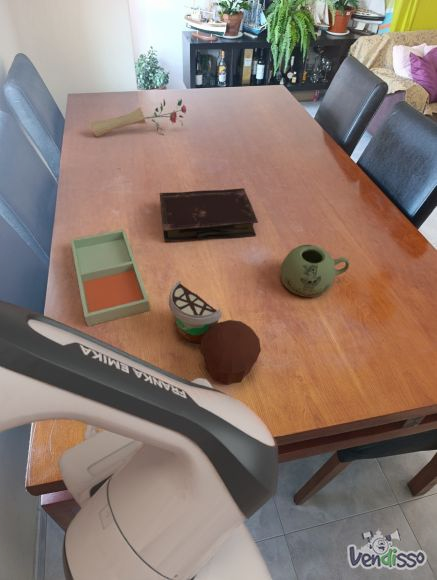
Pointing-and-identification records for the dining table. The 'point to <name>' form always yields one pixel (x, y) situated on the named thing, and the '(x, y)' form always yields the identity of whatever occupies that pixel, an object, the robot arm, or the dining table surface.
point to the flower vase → (132, 120)
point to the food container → (191, 313)
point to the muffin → (230, 351)
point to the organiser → (108, 277)
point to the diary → (207, 215)
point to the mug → (310, 270)
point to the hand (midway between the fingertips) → (126, 396)
